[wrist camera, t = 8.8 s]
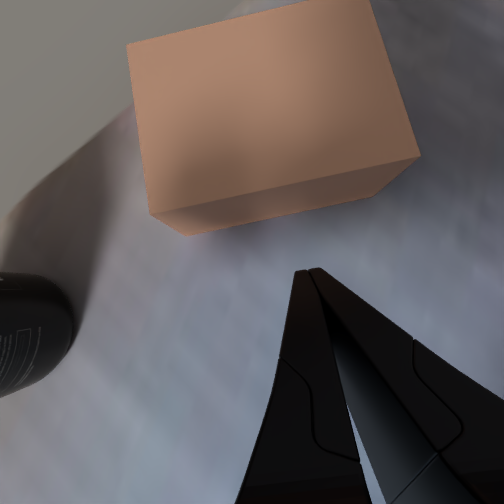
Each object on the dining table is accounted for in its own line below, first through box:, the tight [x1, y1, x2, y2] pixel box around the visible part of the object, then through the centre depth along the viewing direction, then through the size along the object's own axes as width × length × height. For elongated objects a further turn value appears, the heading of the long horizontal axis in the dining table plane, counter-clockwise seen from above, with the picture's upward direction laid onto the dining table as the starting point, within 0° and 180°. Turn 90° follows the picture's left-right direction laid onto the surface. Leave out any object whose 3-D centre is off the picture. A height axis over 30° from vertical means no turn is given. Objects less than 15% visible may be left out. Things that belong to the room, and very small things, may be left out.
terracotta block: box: [126, 0, 421, 236], centre depth 14 cm, size 5×12×9 cm
